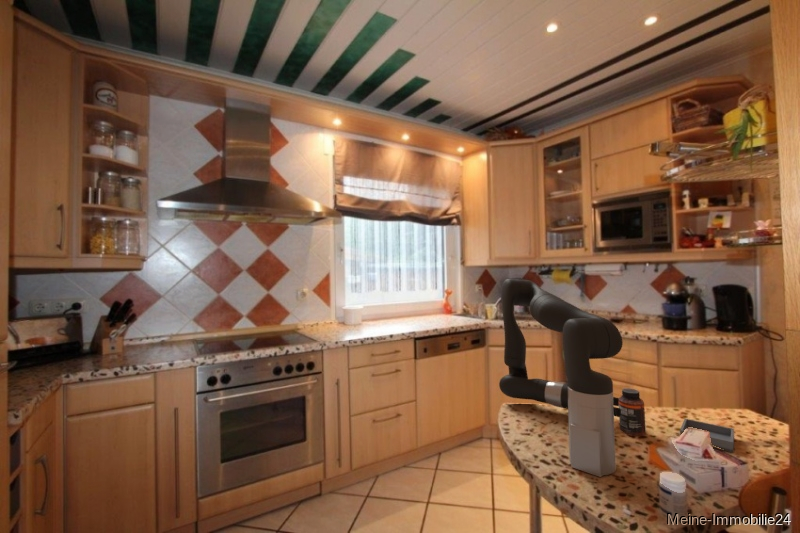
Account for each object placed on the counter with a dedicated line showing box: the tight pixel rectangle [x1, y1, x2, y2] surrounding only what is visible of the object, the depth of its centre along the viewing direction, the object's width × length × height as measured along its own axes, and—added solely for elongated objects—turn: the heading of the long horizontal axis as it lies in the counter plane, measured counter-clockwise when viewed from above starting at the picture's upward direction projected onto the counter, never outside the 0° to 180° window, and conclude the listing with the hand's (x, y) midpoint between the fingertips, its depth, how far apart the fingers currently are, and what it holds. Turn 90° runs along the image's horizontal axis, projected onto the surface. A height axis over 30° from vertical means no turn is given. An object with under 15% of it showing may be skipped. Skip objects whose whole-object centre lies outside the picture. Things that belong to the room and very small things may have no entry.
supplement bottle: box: [618, 388, 647, 437], centre depth 96 cm, size 6×6×11 cm
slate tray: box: [679, 418, 735, 453], centre depth 92 cm, size 10×10×2 cm
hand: (624, 408), depth 98 cm, fingers open, 8 cm apart
